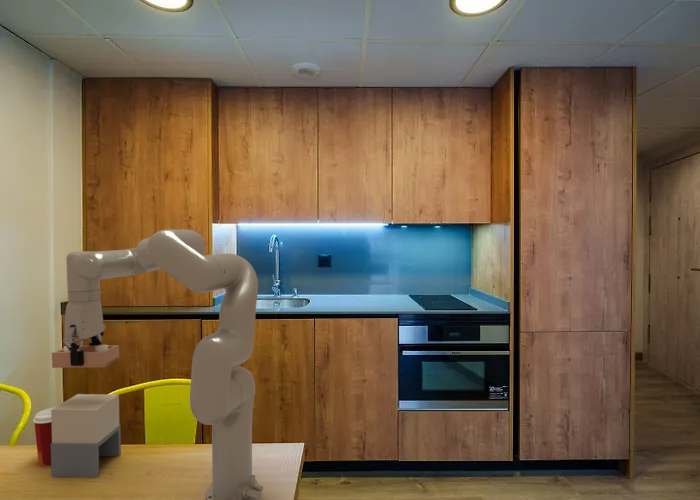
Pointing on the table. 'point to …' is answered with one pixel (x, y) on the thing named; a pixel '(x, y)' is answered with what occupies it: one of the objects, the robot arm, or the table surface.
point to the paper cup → (43, 436)
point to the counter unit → (84, 434)
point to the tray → (87, 356)
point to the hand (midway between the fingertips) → (86, 360)
